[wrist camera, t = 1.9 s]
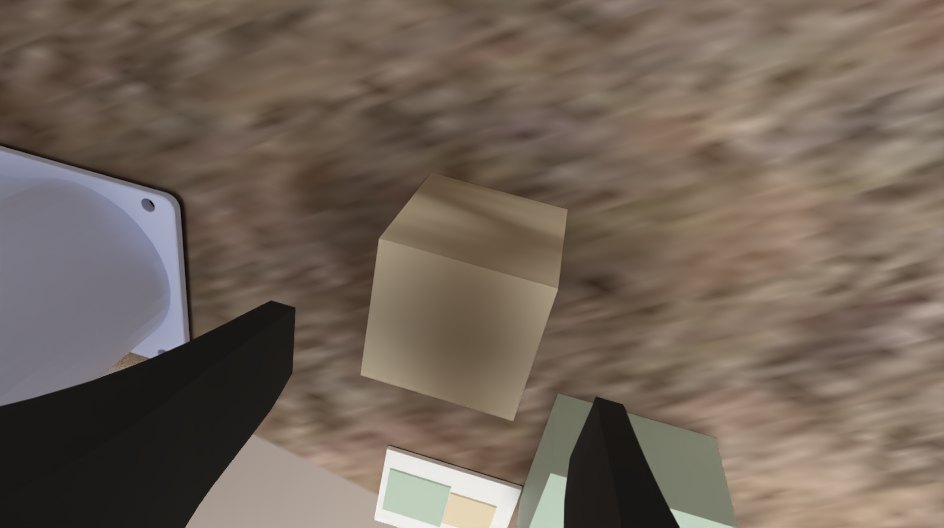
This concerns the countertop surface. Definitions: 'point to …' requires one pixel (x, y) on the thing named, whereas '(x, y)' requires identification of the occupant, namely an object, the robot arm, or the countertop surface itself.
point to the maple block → (463, 294)
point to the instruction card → (441, 495)
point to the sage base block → (667, 452)
